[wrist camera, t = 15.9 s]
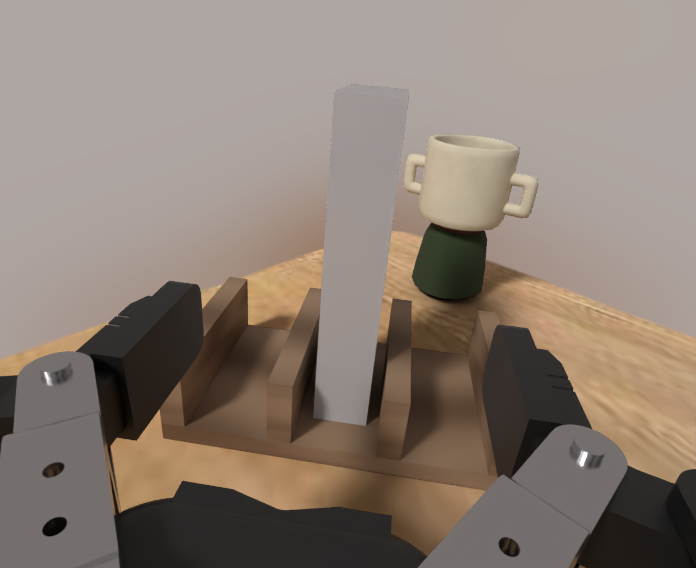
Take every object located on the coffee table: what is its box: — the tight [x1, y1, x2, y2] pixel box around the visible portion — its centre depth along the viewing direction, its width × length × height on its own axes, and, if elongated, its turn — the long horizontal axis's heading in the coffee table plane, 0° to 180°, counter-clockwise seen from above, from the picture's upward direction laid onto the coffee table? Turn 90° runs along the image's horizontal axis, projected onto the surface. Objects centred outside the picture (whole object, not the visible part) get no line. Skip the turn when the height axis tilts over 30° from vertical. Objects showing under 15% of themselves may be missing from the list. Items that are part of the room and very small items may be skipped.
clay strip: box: [313, 84, 409, 426], centre depth 24 cm, size 6×3×16 cm, turn 173°
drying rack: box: [160, 277, 501, 490], centre depth 27 cm, size 10×17×4 cm, turn 83°
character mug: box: [404, 134, 538, 299], centre depth 39 cm, size 11×7×13 cm, turn 58°
